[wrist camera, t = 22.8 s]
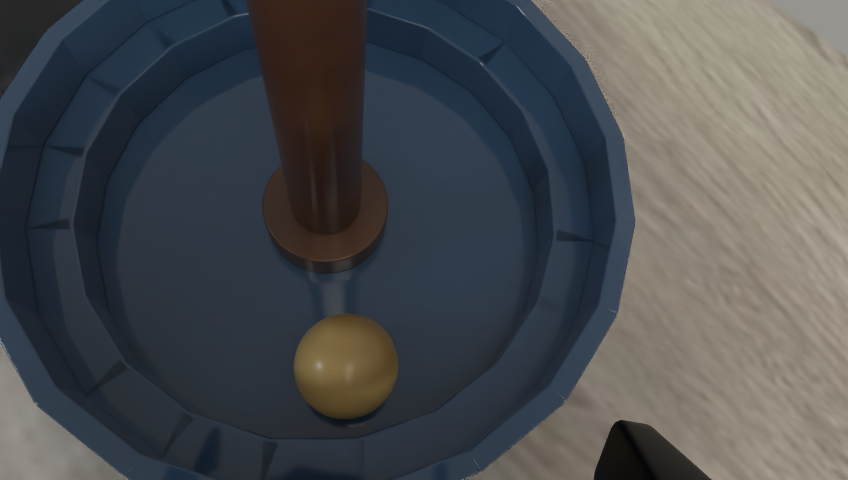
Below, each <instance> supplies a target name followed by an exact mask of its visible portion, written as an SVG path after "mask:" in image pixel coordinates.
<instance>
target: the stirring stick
mask: <svg viewBox="0 0 848 480" xmlns="http://www.w3.org/2000/svg"><path fill="white" fill-rule="evenodd" d="M246 4H247V8H248V13H249V18H250V22H251V27H252V31H253V36H254V40H255V45H256V49H257V54H258V59H259V63H260V68H261V72H262V77H263V81H264V86H265V91H266V95H267V100H268V104H269V109H270V113H271V118H272V123H273V127H274V132H275V136H276V141H277V145H278V150H279V155H280V159H281V164H282V165H281V166H280V167H279V168H278V169H277V170H276V171H275V172H274V173H273V175H272V176H271V178H270V179H269V181H268V183H267V186H266V188H265V191H264V195H263V201H262V210H263V217H264V221H265V224H266V227H267V230H268V233H269V236H270V238H271V241H272V243H273V244H274V246H275V248H276V249H277V250H278V251H279V253H280V254H281V255H282V256H283V257H284V258H285V259H287V260H288V261H289V262H291V263H292V264H294V265H296V266H298V267H300V268H302V269H305V270H308V271H312V272H317V273H335V272H341V271H344V270H347V269H350V268H352V267H355V266H356V265H358V264H360V263H362V262H363V261H364V260H366V259H367V258H368V257H369V256H370V255H371V254H372V253H373V252H374V251H375V249H376V248H377V247H378V245H379V243H380V242H381V240H382V237H383V235H384V232H385V227H386V221H387V214H388V197H387V192H386V189H385V186H384V184H383V182H382V180H381V178H380V176H379V175H378V174H377V172H376V171H375V170H374V169H373V168H372V167H371V166H370V165H369V164H368V163H367V162H366V161H364V160H363V159H362V143H363V115H364V86H365V57H366V28H367V0H246Z"/></svg>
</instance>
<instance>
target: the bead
mask: <svg viewBox="0 0 848 480" xmlns="http://www.w3.org/2000/svg"><path fill="white" fill-rule="evenodd" d="M397 376H398V355H397V351H396V347H395V345H394V343H393V341H392V339H391V337H390V336H389V334H388V333H387V332H386V330H385V329H384V328H383V327H382V326H380V325H379V324H378V323H377V322H375V321H374V320H372V319H370V318H368V317H365V316H362V315H359V314H353V313H341V314H336V315H332V316H329V317H327V318H324V319H322V320H321V321H319V322H317V323H316V324H315V325H313V326H312V327H311V328H310V329H309V330H308V331H307V332H306V334H305V335H304V336H303V338H302V339H301V341H300V343H299V345H298V348H297V350H296V354H295V358H294V377H295V381H296V385H297V387H298V390H299V392H300V393H301V395H302V397H303V398H304V399H305V401H306V402H307V403H308V404H309V405H310V406H311V407H312V408H313V409H315V410H316V411H318V412H319V413H321V414H323V415H325V416H328V417H332V418H336V419H354V418H358V417H362V416H365V415H367V414H369V413H371V412H372V411H374V410H375V409H377V408H378V407H379V406H380V405H382V404H383V403H384V401H385V400H386V399H387V398H388V396H389V395H390V393H391V392H392V390H393V388H394V385H395V383H396V379H397Z"/></svg>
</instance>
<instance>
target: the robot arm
mask: <svg viewBox="0 0 848 480" xmlns="http://www.w3.org/2000/svg"><path fill="white" fill-rule="evenodd" d="M594 480H711V479H710V478H709V477H708V476H707V475H706V474H704V473H703V472H702V471H701V470H700V469H699V468H698V467H697V466H695V465H694V464H693V463H692V462H691V461H690V460H689V459H688V458H686V457H685V456H684V455H683V454H682V453H681V452H680V451H679V450H677V449H676V448H675V447H674V446H673V445H672V444H671V443H669V442H668V441H667V440H666V439H665V438H664V437H663V436H662V435H660V434H659V433H658V432H657V431H656V430H655V429H654V428H652V427H651V426H649V425H647V424H642V423H636V422H630V421H624V420H619V421H617V422H615V424H614V425H613V426H612V428H611V430H610V432H609V435H608V438H607V440H606V443H605V446H604V448H603V451H602V454H601V456H600V459H599V461H598V464H597V467H596V470H595V474H594Z"/></svg>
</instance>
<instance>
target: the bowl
mask: <svg viewBox="0 0 848 480" xmlns="http://www.w3.org/2000/svg"><path fill="white" fill-rule="evenodd" d="M362 159H363V160H364V161H366V162H367V163H368V164H369V165H370V166H371V167H372V168H373V169H374V170H375V171H376V172H377V174H378V175H379V176H380V178H381V180H382V182H383V184H384V186H385V189H386V192H387V197H388V214H387V221H386V227H385V232H384V235H383V237H382V240H381V242H380V243H379V245H378V247H377V248H376V249H375V251H374V252H373V253H372V254H371V255H370V256H369V257H368V258H367V259H366V260H364V261H363V262H362V263H360V264H358V265H356V266H355V267H352V268H350V269H347V270H344V271H341V272H335V273H317V272H312V271H308V270H305V269H302V268H300V267H298V266H296V265H294V264H292V263H291V262H289V261H288V260H287V259H285V258H284V257H283V256H282V255H281V254H280V253H279V251H278V250H277V249H276V248H275V246H274V244H273V243H272V241H271V238H270V236H269V233H268V230H267V227H266V224H265V221H264V217H263V210H262V201H263V195H264V191H265V188H266V186H267V183H268V181H269V179H270V178H271V176H272V175H273V173H274V172H275V171H276V170H277V169H278V168H279V167H280V166H281V165H282V164H281V159H280V155H279V150H278V145H277V141H276V136H275V132H274V127H273V123H272V118H271V113H270V109H269V104H268V100H267V95H266V91H265V86H264V81H263V77H262V72H261V68H260V63H259V59H258V54H257V49H256V45H255V40H254V36H253V31H252V27H251V22H250V18H249V13H248V8H247V4H246V0H83V1H81V2H80V3H79V4H78V5H77V6H75V7H74V8H73V9H72V10H70V11H69V12H68V13H67V14H66V15H64V16H63V17H62V18H61V19H59V20H58V21H57V22H56V23H55V24H53V25H52V26H51V27H50V28H48V29H47V32H45V33H44V34H43V35H42V37H41V38H40V40H39V41H38V43H37V44H36V46H35V47H34V49H33V50H32V52H31V53H30V55H29V57H28V58H27V60H26V61H25V63H24V64H23V66H22V67H21V69H20V70H19V72H18V73H17V75H16V76H15V78H14V79H13V81H12V82H11V84H10V85H9V87H8V88H7V90H6V91H5V93H4V94H3V96H2V97H1V99H0V342H1V344H2V346H3V348H4V350H5V351H6V353H7V355H8V357H9V359H10V360H11V362H12V364H13V366H14V367H15V369H16V371H17V373H18V375H19V376H20V378H21V380H22V382H23V384H24V385H25V387H26V389H27V391H28V392H29V394H30V396H31V398H32V400H33V401H34V403H36V405H37V407H39V408H40V409H41V410H42V411H44V412H45V413H46V414H47V415H49V416H50V417H51V418H52V419H54V420H55V421H56V422H57V423H58V424H60V425H61V426H62V427H63V428H65V429H66V430H67V431H68V432H70V433H71V434H72V435H73V436H75V437H76V438H77V439H78V440H79V441H81V442H82V443H83V444H84V445H86V446H87V447H88V448H89V449H91V450H92V451H93V452H94V453H96V454H97V455H98V456H99V457H100V458H102V459H103V460H104V461H105V462H107V463H108V464H109V465H110V466H112V467H113V468H114V469H115V470H117V471H118V472H119V473H120V474H122V475H123V476H124V477H127V478H128V479H129V480H463V479H465V478H468V477H471V476H473V475H476V474H478V473H479V472H482V471H483V470H484V469H486V468H487V467H488V466H489V465H491V464H492V463H493V462H494V461H495V460H497V459H498V458H499V457H500V456H501V455H503V454H504V453H505V452H506V451H507V450H509V449H510V448H511V447H512V446H513V445H515V444H516V443H517V442H518V441H519V440H521V439H522V438H523V437H524V436H525V435H527V434H528V433H529V432H530V431H531V430H533V429H534V428H535V427H536V426H538V425H539V424H540V423H541V422H542V421H544V420H545V419H546V418H547V417H548V416H550V415H551V414H552V413H553V412H554V411H556V410H557V409H558V408H559V407H560V406H562V405H563V404H564V402H565V401H566V400H567V399H568V397H569V396H570V394H571V392H572V391H573V389H574V387H575V386H576V384H577V382H578V380H579V379H580V377H581V375H582V374H583V372H584V370H585V369H586V367H587V365H588V364H589V362H590V360H591V359H592V357H593V355H594V354H595V352H596V350H597V349H598V347H599V345H600V344H601V342H602V340H603V338H604V337H605V335H606V333H607V332H608V330H609V328H610V327H611V325H612V323H613V322H614V320H615V318H616V316H617V315H616V314H617V313H618V309H619V304H620V299H621V293H622V288H623V283H624V278H625V273H626V268H627V263H628V258H629V253H630V248H631V242H632V237H633V232H634V227H635V224H634V223H635V216H634V209H633V202H632V194H631V187H630V180H629V173H628V166H627V159H626V152H625V145H624V138H623V136H622V133H621V131H620V129H619V127H618V125H617V123H616V121H615V118H614V116H613V114H612V112H611V110H610V108H609V106H608V104H607V102H606V100H605V98H604V96H603V94H602V92H601V90H600V88H599V86H598V84H597V82H596V80H595V78H594V76H593V74H592V71H591V69H590V67H589V65H588V63H587V61H586V60H585V58H584V57H583V56H582V55H581V54H580V53H579V52H578V51H577V49H576V48H575V47H574V46H573V45H572V44H571V43H570V42H569V41H568V40H567V39H566V38H565V36H564V35H563V34H562V33H561V32H560V31H559V30H558V29H557V28H556V27H555V26H554V25H553V23H552V22H551V21H550V20H549V19H548V18H547V17H546V16H545V15H544V14H543V13H542V11H541V10H540V9H539V8H538V7H537V6H536V5H535V4H534V3H533V2H532V1H531V0H367V28H366V57H365V86H364V115H363V143H362ZM341 313H353V314H359V315H362V316H365V317H368V318H370V319H372V320H374V321H375V322H377V323H378V324H379V325H380V326H382V327H383V328H384V329H385V330H386V332H387V333H388V334H389V336H390V337H391V339H392V341H393V343H394V345H395V347H396V351H397V355H398V376H397V379H396V383H395V385H394V388H393V390H392V392H391V393H390V395H389V396H388V398H387V399H386V400H385V401H384V403H383V404H382V405H380V406H379V407H378V408H377V409H375V410H374V411H372V412H371V413H369V414H367V415H365V416H362V417H358V418H354V419H336V418H332V417H328V416H325V415H323V414H321V413H319V412H318V411H316V410H315V409H313V408H312V407H311V406H310V405H309V404H308V403H307V402H306V401H305V399H304V398H303V397H302V395H301V393H300V392H299V390H298V387H297V385H296V381H295V377H294V358H295V354H296V350H297V348H298V345H299V343H300V341H301V339H302V338H303V336H304V335H305V334H306V332H307V331H308V330H309V329H310V328H311V327H312V326H313V325H315V324H316V323H317V322H319V321H321V320H322V319H324V318H327V317H329V316H332V315H336V314H341Z"/></svg>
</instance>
